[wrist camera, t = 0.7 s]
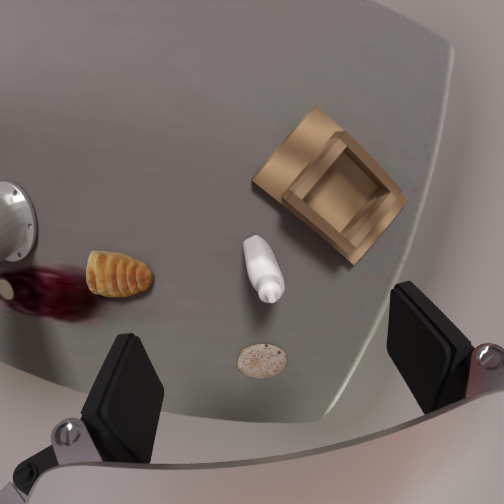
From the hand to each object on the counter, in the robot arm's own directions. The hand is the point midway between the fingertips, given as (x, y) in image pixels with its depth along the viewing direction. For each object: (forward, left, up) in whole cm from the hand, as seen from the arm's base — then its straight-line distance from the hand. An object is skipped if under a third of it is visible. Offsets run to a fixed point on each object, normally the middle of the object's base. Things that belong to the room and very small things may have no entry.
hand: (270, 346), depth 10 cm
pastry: (-18, +7, -29) cm, 35 cm away
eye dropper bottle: (-5, -7, -29) cm, 30 cm away
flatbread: (-19, -19, -29) cm, 40 cm away
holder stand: (+8, -9, -29) cm, 31 cm away
